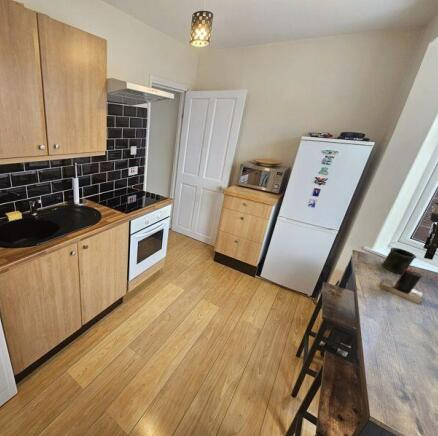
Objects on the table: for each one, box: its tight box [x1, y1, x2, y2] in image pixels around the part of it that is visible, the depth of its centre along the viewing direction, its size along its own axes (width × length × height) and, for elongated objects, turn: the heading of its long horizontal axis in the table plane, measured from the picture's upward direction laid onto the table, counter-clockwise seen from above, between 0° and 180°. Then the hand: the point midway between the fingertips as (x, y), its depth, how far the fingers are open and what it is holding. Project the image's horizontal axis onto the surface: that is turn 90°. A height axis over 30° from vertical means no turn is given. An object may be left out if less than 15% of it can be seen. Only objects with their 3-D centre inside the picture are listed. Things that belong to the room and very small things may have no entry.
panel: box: [380, 278, 423, 305], centre depth 119 cm, size 14×10×3 cm
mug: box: [382, 247, 417, 275], centre depth 139 cm, size 11×15×12 cm
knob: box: [395, 268, 423, 293], centre depth 116 cm, size 6×6×10 cm
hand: (427, 253), depth 115 cm, fingers open, 13 cm apart
